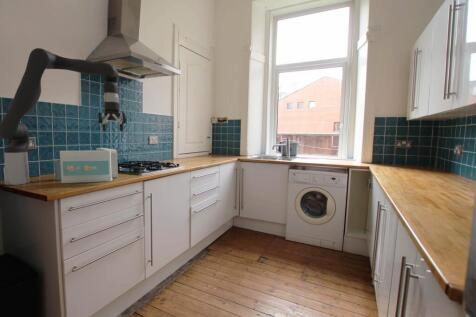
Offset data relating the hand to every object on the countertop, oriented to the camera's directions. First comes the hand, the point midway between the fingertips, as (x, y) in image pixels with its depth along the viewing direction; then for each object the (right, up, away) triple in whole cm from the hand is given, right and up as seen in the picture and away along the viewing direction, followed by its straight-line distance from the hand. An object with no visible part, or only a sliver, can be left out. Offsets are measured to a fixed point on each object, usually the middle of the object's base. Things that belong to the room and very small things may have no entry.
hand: (113, 131), depth 136 cm
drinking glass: (-35, -28, +11) cm, 46 cm away
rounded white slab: (-18, -27, +26) cm, 41 cm away
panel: (-13, -25, -3) cm, 28 cm away
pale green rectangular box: (-16, -29, +1) cm, 33 cm away
